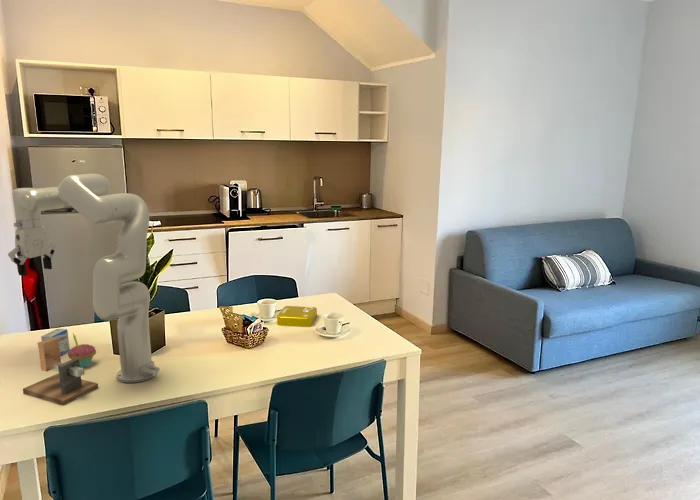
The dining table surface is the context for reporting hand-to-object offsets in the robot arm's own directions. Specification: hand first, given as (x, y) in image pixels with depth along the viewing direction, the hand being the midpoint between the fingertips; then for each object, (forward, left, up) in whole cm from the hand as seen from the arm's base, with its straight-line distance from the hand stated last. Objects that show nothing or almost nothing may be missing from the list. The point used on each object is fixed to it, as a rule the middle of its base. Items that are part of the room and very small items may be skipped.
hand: (35, 272), depth 180 cm
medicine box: (-5, -1, -31) cm, 31 cm away
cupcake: (-21, +1, -31) cm, 37 cm away
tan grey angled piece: (-33, +17, -24) cm, 44 cm away
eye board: (-31, +17, -31) cm, 47 cm away
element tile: (-66, -69, -31) cm, 100 cm away
